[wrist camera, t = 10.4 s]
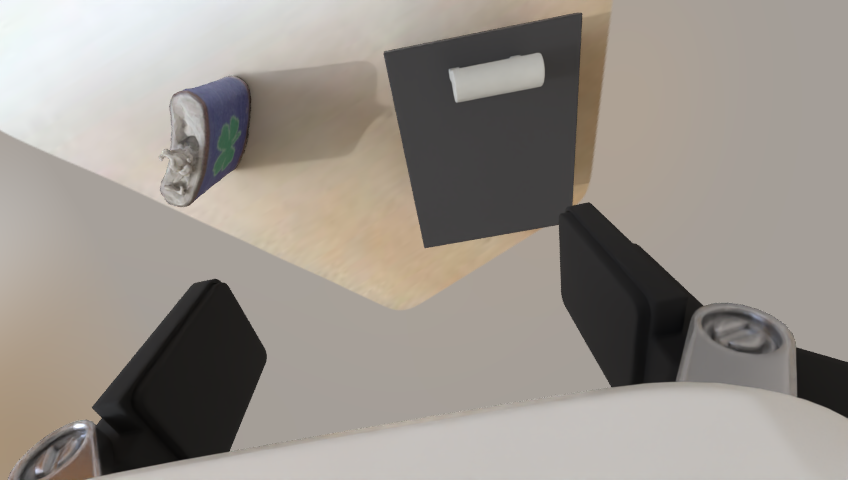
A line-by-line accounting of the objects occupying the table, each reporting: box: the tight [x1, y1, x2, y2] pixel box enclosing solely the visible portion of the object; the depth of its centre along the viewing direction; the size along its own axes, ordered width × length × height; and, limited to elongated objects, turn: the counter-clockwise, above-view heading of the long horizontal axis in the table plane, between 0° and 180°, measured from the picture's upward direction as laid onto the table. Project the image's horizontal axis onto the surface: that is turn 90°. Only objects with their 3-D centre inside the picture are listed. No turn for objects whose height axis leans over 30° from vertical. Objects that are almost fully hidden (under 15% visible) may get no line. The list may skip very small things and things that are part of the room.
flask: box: [159, 76, 251, 207], centre depth 30 cm, size 9×3×11 cm, turn 157°
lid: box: [384, 13, 582, 248], centre depth 26 cm, size 15×13×5 cm
